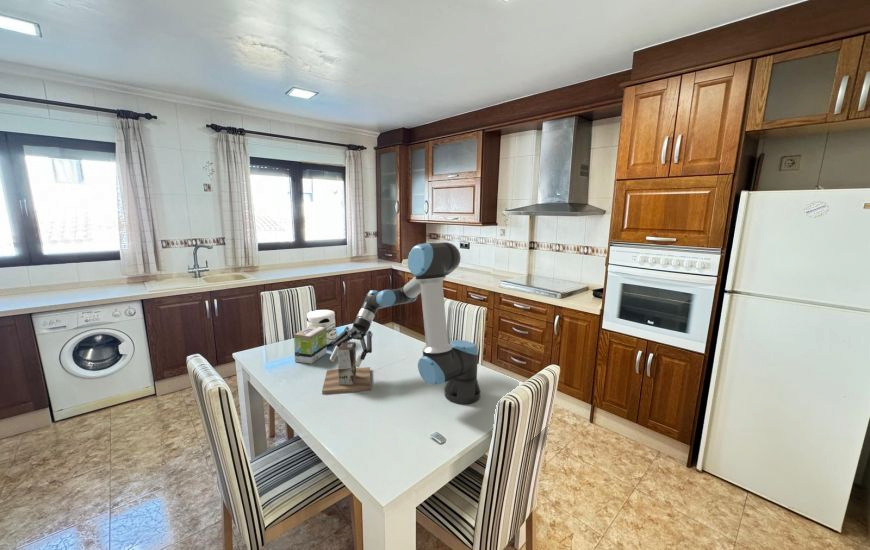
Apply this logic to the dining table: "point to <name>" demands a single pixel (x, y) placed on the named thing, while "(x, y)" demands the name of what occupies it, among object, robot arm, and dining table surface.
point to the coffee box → (347, 363)
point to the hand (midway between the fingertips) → (344, 363)
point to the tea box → (310, 344)
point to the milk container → (323, 323)
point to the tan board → (359, 384)
